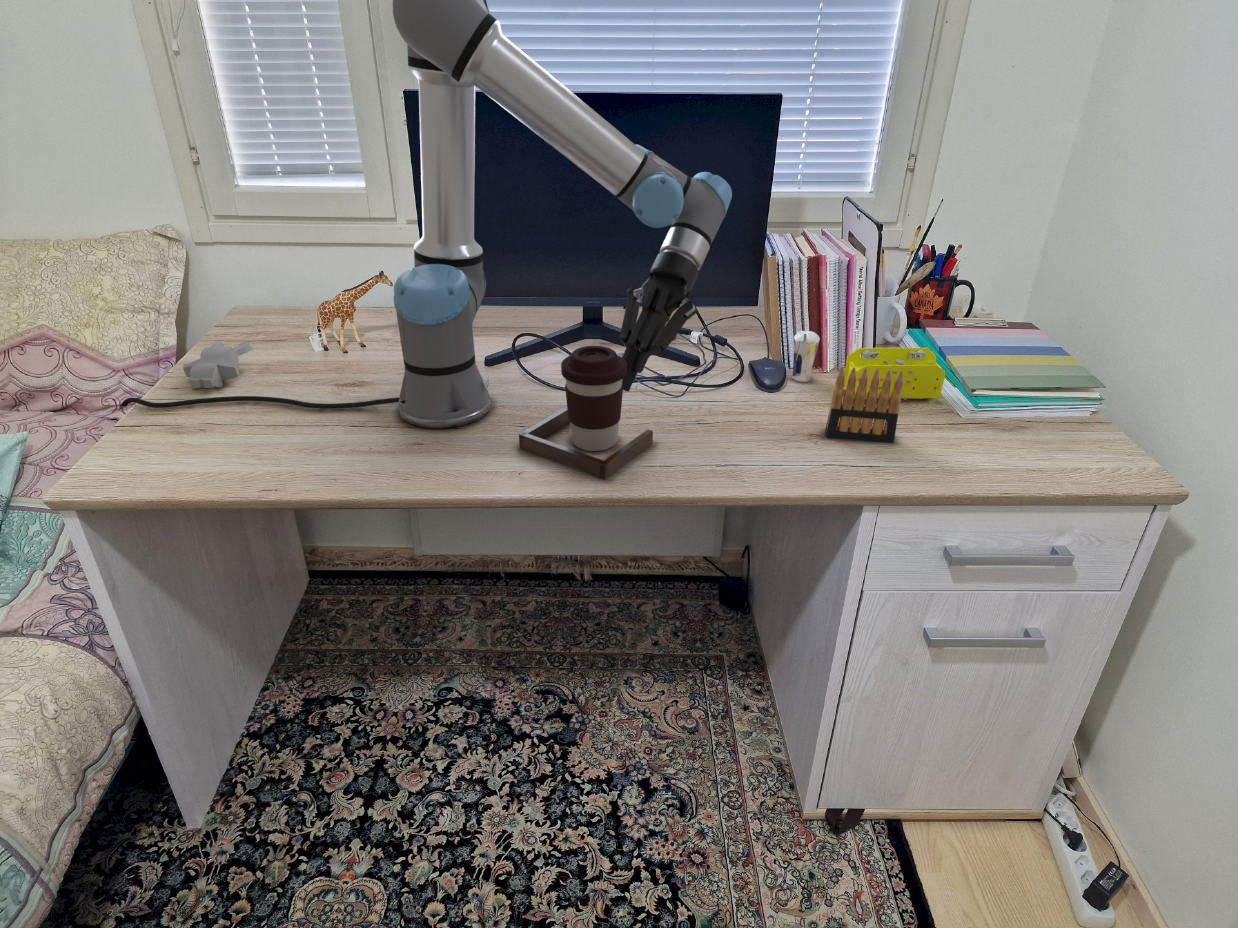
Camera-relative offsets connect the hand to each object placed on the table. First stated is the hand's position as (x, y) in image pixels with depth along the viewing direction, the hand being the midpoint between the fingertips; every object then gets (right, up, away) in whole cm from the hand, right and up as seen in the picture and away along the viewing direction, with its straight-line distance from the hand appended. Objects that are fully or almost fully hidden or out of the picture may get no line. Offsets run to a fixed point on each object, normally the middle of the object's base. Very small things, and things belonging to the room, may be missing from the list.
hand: (621, 387), depth 124 cm
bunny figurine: (-75, +4, +19) cm, 77 cm away
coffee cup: (-4, -9, -2) cm, 10 cm away
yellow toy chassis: (+48, 0, +13) cm, 50 cm away
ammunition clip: (+38, -8, 0) cm, 39 cm away
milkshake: (+34, +3, +19) cm, 39 cm away
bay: (-5, -10, -3) cm, 11 cm away
